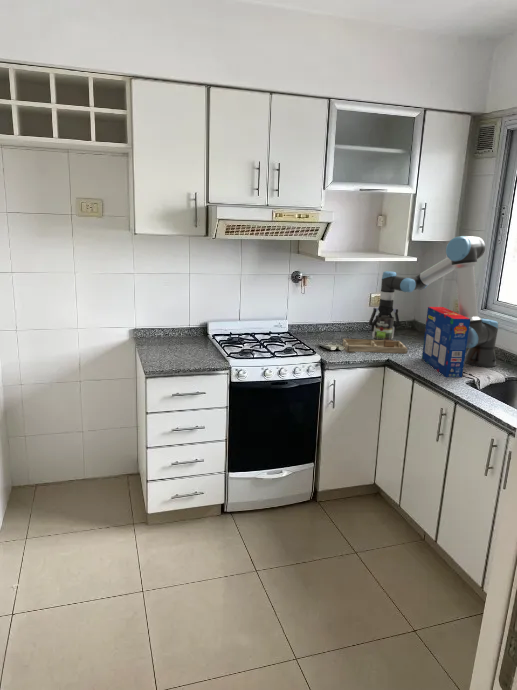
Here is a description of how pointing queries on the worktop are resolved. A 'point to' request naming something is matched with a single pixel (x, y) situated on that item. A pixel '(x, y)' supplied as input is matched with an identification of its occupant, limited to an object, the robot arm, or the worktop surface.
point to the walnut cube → (388, 343)
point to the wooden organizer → (372, 346)
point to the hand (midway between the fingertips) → (382, 337)
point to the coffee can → (383, 328)
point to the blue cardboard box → (445, 341)
